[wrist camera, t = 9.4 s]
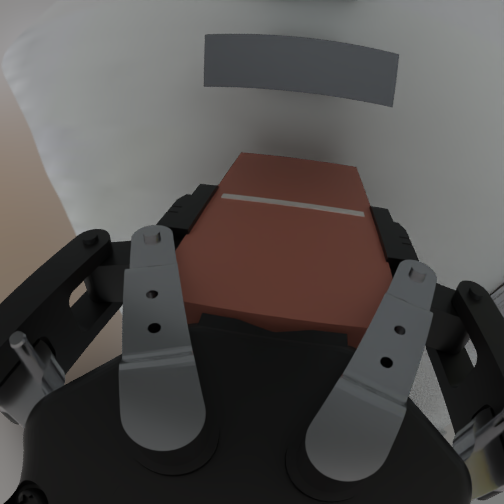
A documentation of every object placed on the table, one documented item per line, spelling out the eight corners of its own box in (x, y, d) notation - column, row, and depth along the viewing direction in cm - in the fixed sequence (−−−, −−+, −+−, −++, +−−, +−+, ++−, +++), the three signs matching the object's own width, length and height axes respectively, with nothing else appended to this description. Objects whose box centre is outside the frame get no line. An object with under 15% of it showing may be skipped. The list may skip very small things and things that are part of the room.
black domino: (350, 84, 17) (392, 108, 8) (256, 74, 18) (203, 88, 9) (352, 57, 16) (399, 52, 7) (258, 47, 17) (205, 33, 8)
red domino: (241, 151, 16) (148, 292, 7) (356, 166, 15) (406, 329, 6) (240, 184, 17) (160, 343, 8) (350, 198, 16) (379, 376, 8)
